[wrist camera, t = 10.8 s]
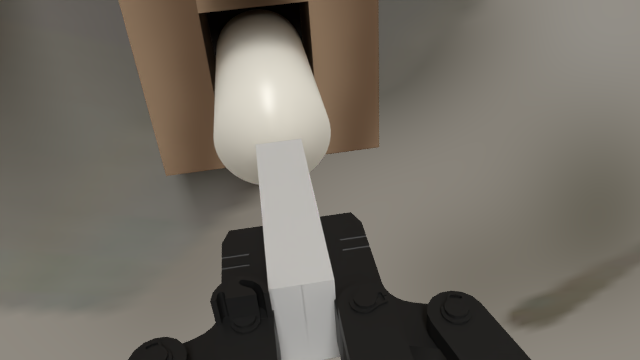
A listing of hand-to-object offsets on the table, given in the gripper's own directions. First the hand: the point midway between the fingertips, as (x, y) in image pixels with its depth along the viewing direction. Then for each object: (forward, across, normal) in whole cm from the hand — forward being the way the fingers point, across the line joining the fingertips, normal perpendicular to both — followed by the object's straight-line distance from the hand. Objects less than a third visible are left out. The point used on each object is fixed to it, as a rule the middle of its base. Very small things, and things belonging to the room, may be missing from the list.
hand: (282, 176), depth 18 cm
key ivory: (+12, 0, 0) cm, 12 cm away
